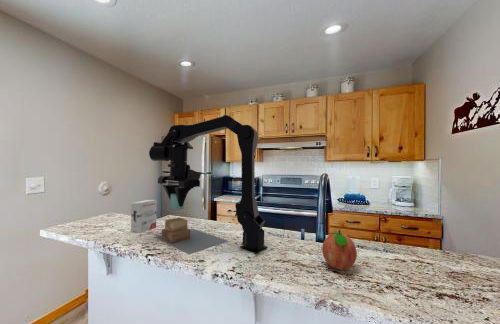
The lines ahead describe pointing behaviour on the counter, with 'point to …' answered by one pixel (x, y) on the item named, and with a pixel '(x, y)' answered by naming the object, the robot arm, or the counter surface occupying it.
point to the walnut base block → (175, 236)
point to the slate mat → (196, 242)
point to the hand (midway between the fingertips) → (177, 205)
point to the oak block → (176, 224)
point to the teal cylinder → (175, 202)
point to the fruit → (339, 251)
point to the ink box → (143, 216)
